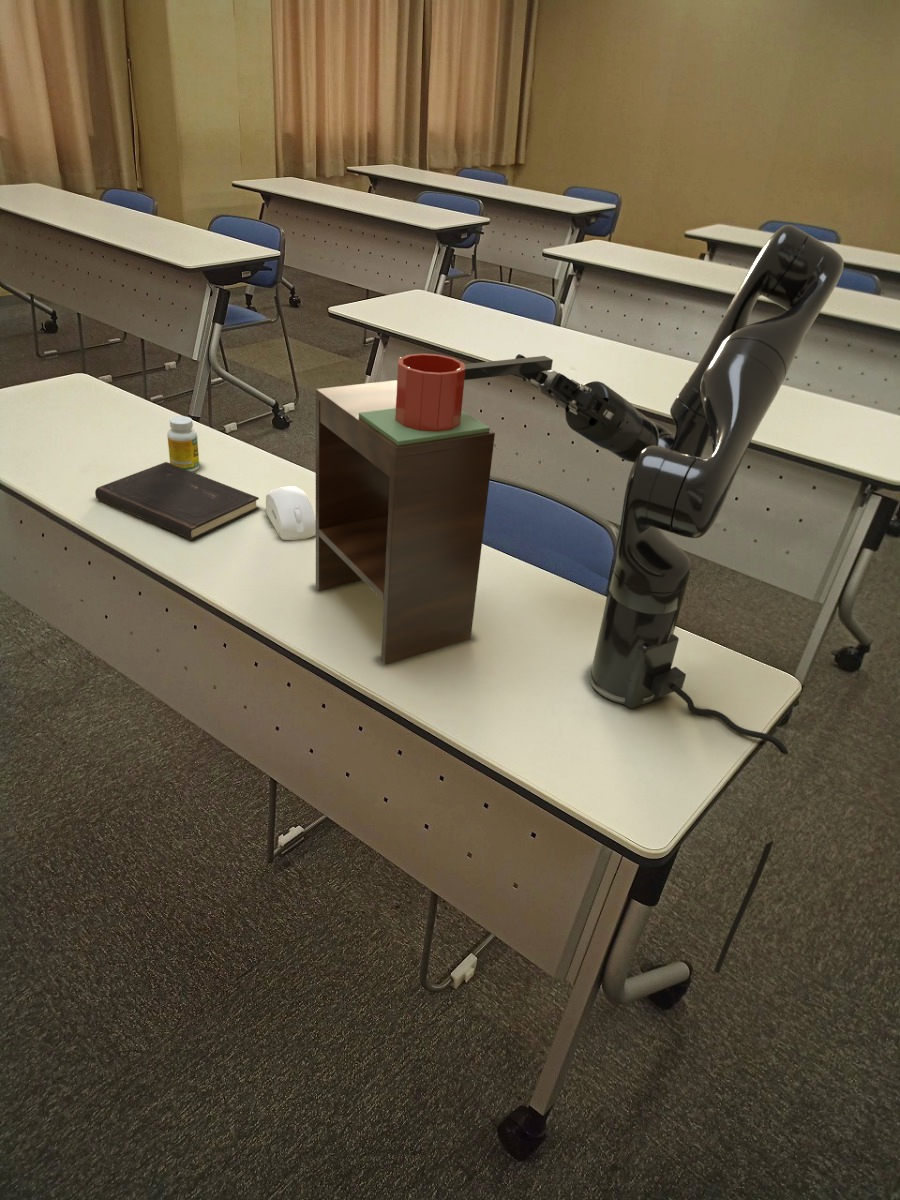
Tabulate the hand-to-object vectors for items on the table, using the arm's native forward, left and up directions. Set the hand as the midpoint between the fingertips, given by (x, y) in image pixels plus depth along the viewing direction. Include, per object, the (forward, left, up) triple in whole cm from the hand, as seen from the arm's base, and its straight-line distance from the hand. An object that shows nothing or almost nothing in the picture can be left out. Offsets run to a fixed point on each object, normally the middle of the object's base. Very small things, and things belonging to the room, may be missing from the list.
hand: (534, 370), depth 110 cm
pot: (0, +9, -5) cm, 10 cm away
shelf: (+5, +16, -36) cm, 40 cm away
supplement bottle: (+66, +27, -36) cm, 81 cm away
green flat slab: (0, +16, -5) cm, 17 cm away
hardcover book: (+51, +33, -36) cm, 71 cm away
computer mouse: (+37, +18, -36) cm, 55 cm away
